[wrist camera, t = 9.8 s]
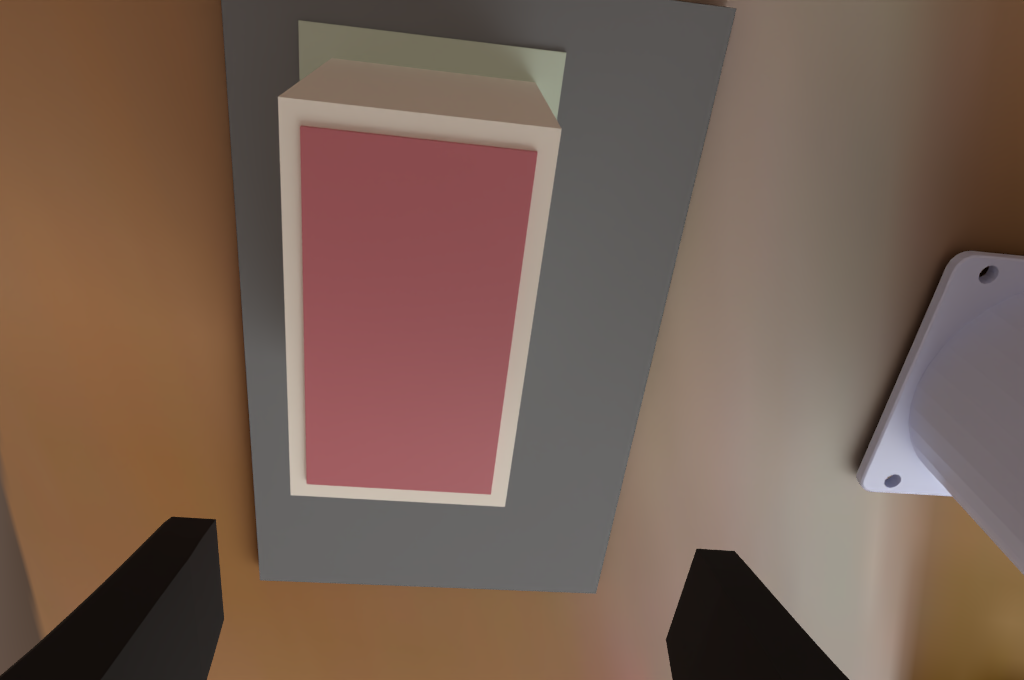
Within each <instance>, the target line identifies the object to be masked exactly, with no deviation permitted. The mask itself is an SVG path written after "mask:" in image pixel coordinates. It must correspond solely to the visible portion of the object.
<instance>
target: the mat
mask: <svg viewBox="0 0 1024 680" xmlns="http://www.w3.org/2000/svg"><path fill="white" fill-rule="evenodd" d="M221 5H222V20H223V35H224V50H225V65H226V80H227V95H228V109H229V124H230V139H231V154H232V169H233V184H234V199H235V214H236V229H237V243H238V258H239V273H240V288H241V303H242V318H243V333H244V348H245V362H246V377H247V392H248V407H249V422H250V437H251V452H252V467H253V482H254V496H255V511H256V526H257V541H258V556H259V571H260V580H269V581H294V582H319V583H344V584H370V585H395V586H420V587H446V588H471V589H496V590H521V591H547V592H572V593H596V590H597V586H598V582H599V578H600V574H601V570H602V565H603V561H604V557H605V553H606V549H607V545H608V540H609V536H610V532H611V528H612V524H613V520H614V515H615V511H616V507H617V503H618V499H619V495H620V491H621V486H622V482H623V478H624V474H625V470H626V466H627V461H628V457H629V453H630V449H631V445H632V441H633V436H634V432H635V428H636V424H637V420H638V416H639V411H640V407H641V403H642V399H643V395H644V391H645V387H646V382H647V378H648V374H649V370H650V366H651V362H652V357H653V353H654V349H655V345H656V341H657V337H658V332H659V328H660V324H661V320H662V316H663V312H664V307H665V303H666V299H667V295H668V291H669V287H670V283H671V278H672V274H673V270H674V266H675V262H676V258H677V253H678V249H679V245H680V241H681V237H682V233H683V228H684V224H685V220H686V216H687V212H688V208H689V203H690V199H691V195H692V191H693V187H694V183H695V178H696V174H697V170H698V166H699V162H700V158H701V154H702V149H703V145H704V141H705V137H706V133H707V129H708V124H709V120H710V116H711V112H712V108H713V104H714V99H715V95H716V91H717V87H718V83H719V79H720V74H721V70H722V66H723V62H724V58H725V54H726V50H727V45H728V41H729V37H730V33H731V29H732V25H733V20H734V16H735V12H736V9H735V8H729V7H721V6H714V5H706V4H698V3H691V2H683V1H675V0H221ZM331 58H336V59H344V60H352V61H361V62H369V63H378V64H386V65H394V66H403V67H411V68H419V69H428V70H436V71H444V72H453V73H461V74H469V75H478V76H486V77H495V78H503V79H511V80H520V81H528V82H535V83H536V84H537V86H538V88H539V90H540V91H541V93H542V95H543V97H544V99H545V100H546V102H547V104H548V106H549V107H550V109H551V111H552V113H553V114H554V116H555V118H556V120H557V121H558V123H559V125H560V127H561V129H562V130H561V137H560V144H559V150H558V157H557V164H556V170H555V177H554V183H553V190H552V197H551V203H550V210H549V217H548V223H547V230H546V237H545V243H544V250H543V257H542V263H541V270H540V277H539V283H538V290H537V297H536V303H535V310H534V317H533V323H532V330H531V337H530V343H529V350H528V357H527V363H526V370H525V377H524V383H523V390H522V397H521V403H520V410H519V417H518V423H517V430H516V437H515V443H514V450H513V457H512V463H511V470H510V477H509V483H508V490H507V497H506V503H505V507H497V506H479V505H461V504H442V503H424V502H406V501H388V500H369V499H351V498H333V497H315V496H296V495H291V492H290V461H289V430H288V398H287V367H286V336H285V304H284V273H283V242H282V210H281V179H280V147H279V116H278V96H280V95H281V94H282V93H284V92H285V91H287V90H288V89H289V88H291V87H292V86H294V85H295V84H296V83H298V82H299V81H300V80H302V79H303V78H305V77H306V76H307V75H309V74H310V73H312V72H313V71H314V70H316V69H317V68H318V67H320V66H321V65H323V64H324V63H325V62H327V61H328V60H330V59H331Z"/></svg>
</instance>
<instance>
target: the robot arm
mask: <svg viewBox="0 0 1024 680" xmlns="http://www.w3.org/2000/svg"><path fill="white" fill-rule="evenodd" d="M987 266H989V269H988V271H987V272H986V274H985V275H983V276H981V277H979V274H980V272H981V271H982V270H983V269H984V268H986V267H987ZM890 475H892V477H890V478H888V479H886V478H887V477H889V476H890ZM856 478H857V481H858V482H859V484H860V485H861V486H862V487H863V488H864V489H865V490H867V491H871V492H886V493H904V494H921V495H939V496H953V497H954V499H955V500H956V501H957V502H958V503H959V504H960V505H961V506H962V507H963V508H964V510H965V511H966V512H967V513H968V514H969V515H970V516H971V517H972V518H973V519H974V521H975V522H976V523H977V524H978V525H979V526H980V527H981V528H982V529H983V531H984V532H985V533H986V534H987V535H988V536H989V537H990V538H991V539H992V540H993V542H994V543H995V544H996V545H997V546H998V547H999V548H1000V549H1001V550H1002V551H1003V553H1004V554H1005V555H1006V556H1007V557H1008V558H1009V559H1010V560H1011V561H1012V562H1013V564H1014V565H1015V566H1016V567H1017V568H1018V569H1019V570H1020V571H1021V572H1022V573H1023V575H1024V256H1020V255H1010V254H999V253H989V252H979V251H964V252H961V253H959V254H957V255H956V256H954V257H953V258H952V259H951V260H950V261H949V263H948V264H947V266H946V268H945V270H944V273H943V275H942V277H941V280H940V282H939V284H938V286H937V289H936V291H935V293H934V296H933V298H932V300H931V303H930V305H929V307H928V310H927V312H926V314H925V317H924V319H923V321H922V323H921V326H920V328H919V330H918V333H917V335H916V337H915V340H914V342H913V344H912V347H911V349H910V351H909V354H908V356H907V358H906V360H905V363H904V365H903V367H902V370H901V372H900V374H899V377H898V379H897V381H896V384H895V386H894V388H893V391H892V393H891V395H890V397H889V400H888V402H887V404H886V407H885V409H884V411H883V414H882V416H881V418H880V421H879V423H878V425H877V428H876V430H875V432H874V434H873V437H872V439H871V441H870V444H869V446H868V448H867V451H866V453H865V455H864V458H863V460H862V462H861V465H860V467H859V469H858V471H857V476H856ZM223 621H224V613H223V601H222V589H221V577H220V565H219V553H218V541H217V529H216V519H200V518H184V517H171V518H170V519H168V520H167V521H166V522H164V523H163V524H162V525H161V526H160V527H159V528H158V529H157V530H156V531H155V532H154V533H153V534H152V535H151V536H150V537H149V538H148V539H147V540H146V541H145V542H144V543H143V544H142V545H141V546H140V547H139V548H138V549H137V550H136V551H135V552H134V553H133V554H132V555H131V556H130V557H129V558H128V559H127V560H126V561H125V562H124V563H123V564H122V565H121V566H120V567H119V568H118V569H117V570H116V571H115V572H114V573H113V574H112V575H111V576H110V577H109V578H108V579H107V580H106V581H105V582H104V583H103V584H102V585H100V586H99V587H98V588H97V589H96V590H95V591H94V592H93V593H92V594H91V595H90V596H89V597H88V598H87V599H86V600H85V601H84V602H83V603H81V604H80V605H79V606H78V607H77V608H76V609H75V610H74V611H73V612H72V613H71V614H70V615H68V616H67V617H66V618H65V619H64V620H63V621H62V622H61V623H60V624H59V625H58V626H57V627H56V628H54V629H53V630H52V631H51V632H50V633H49V634H48V635H47V636H46V637H45V638H44V639H42V640H41V641H40V642H39V643H38V644H37V645H36V646H35V647H34V648H33V649H31V650H30V651H29V652H28V653H27V654H25V655H24V656H23V657H22V658H21V659H20V660H18V661H17V662H16V663H15V664H14V665H12V666H11V667H10V668H9V669H8V670H7V671H6V672H4V673H3V674H2V675H1V676H0V680H207V676H208V673H209V670H210V666H211V663H212V660H213V656H214V653H215V649H216V646H217V642H218V638H219V635H220V631H221V628H222V624H223ZM666 642H667V648H668V654H669V660H670V666H671V672H672V678H673V680H849V679H848V678H847V677H846V676H845V675H844V674H843V672H842V671H841V670H840V669H839V668H838V667H837V666H836V665H835V664H834V663H833V662H832V661H831V660H830V658H829V657H828V656H827V655H826V654H825V653H824V652H823V651H822V650H821V649H820V647H819V646H818V645H817V644H816V643H815V642H814V641H813V640H812V639H811V637H810V636H809V635H808V634H807V633H806V632H805V631H804V630H803V629H802V627H801V626H800V625H799V624H798V623H797V622H796V621H795V619H794V618H793V617H792V616H791V615H790V614H789V613H788V611H787V610H786V609H785V608H784V607H783V606H782V605H781V603H780V602H779V601H778V600H777V599H776V598H775V597H774V595H773V594H772V593H771V592H770V591H769V590H768V589H767V587H766V586H765V585H764V584H763V583H762V582H761V580H760V579H759V578H758V577H757V576H756V575H755V574H754V572H753V571H752V570H751V569H750V568H749V567H748V566H747V565H746V563H745V562H744V561H743V560H742V559H741V558H740V557H739V556H738V555H737V553H736V552H735V551H724V550H707V549H696V552H695V555H694V558H693V561H692V564H691V567H690V570H689V573H688V576H687V579H686V582H685V585H684V588H683V591H682V594H681V597H680V600H679V603H678V606H677V609H676V611H675V614H674V617H673V620H672V623H671V626H670V629H669V632H668V635H667V638H666Z"/></svg>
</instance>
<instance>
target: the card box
mask: <svg viewBox="0 0 1024 680" xmlns="http://www.w3.org/2000/svg"><path fill="white" fill-rule="evenodd" d="M278 116H279V147H280V179H281V210H282V242H283V273H284V304H285V336H286V367H287V398H288V430H289V461H290V492H291V495H296V496H315V497H333V498H351V499H369V500H388V501H406V502H424V503H442V504H461V505H479V506H497V507H505V503H506V497H507V490H508V483H509V477H510V470H511V463H512V457H513V450H514V443H515V437H516V430H517V423H518V417H519V410H520V403H521V397H522V390H523V383H524V377H525V370H526V363H527V357H528V350H529V343H530V337H531V330H532V323H533V317H534V310H535V303H536V297H537V290H538V283H539V277H540V270H541V263H542V257H543V250H544V243H545V237H546V230H547V223H548V217H549V210H550V203H551V197H552V190H553V183H554V177H555V170H556V164H557V157H558V150H559V144H560V137H561V130H562V129H561V127H560V125H559V123H558V121H557V120H556V118H555V116H554V114H553V113H552V111H551V109H550V107H549V106H548V104H547V102H546V100H545V99H544V97H543V95H542V93H541V91H540V90H539V88H538V86H537V84H536V83H535V82H528V81H520V80H511V79H503V78H495V77H486V76H478V75H469V74H461V73H453V72H444V71H436V70H428V69H419V68H411V67H403V66H394V65H386V64H378V63H369V62H361V61H352V60H344V59H336V58H331V59H330V60H328V61H327V62H325V63H324V64H323V65H321V66H320V67H318V68H317V69H316V70H314V71H313V72H312V73H310V74H309V75H307V76H306V77H305V78H303V79H302V80H300V81H299V82H298V83H296V84H295V85H294V86H292V87H291V88H289V89H288V90H287V91H285V92H284V93H282V94H281V95H280V96H278Z"/></svg>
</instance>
